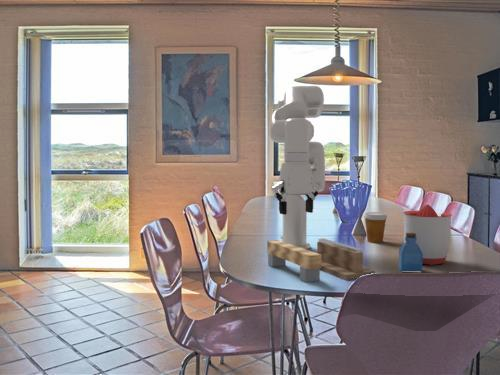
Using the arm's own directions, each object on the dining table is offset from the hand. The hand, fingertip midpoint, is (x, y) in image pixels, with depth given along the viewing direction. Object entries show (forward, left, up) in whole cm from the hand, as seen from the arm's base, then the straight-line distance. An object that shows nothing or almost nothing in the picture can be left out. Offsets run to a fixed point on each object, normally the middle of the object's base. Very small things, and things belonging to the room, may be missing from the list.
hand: (296, 213), depth 146 cm
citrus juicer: (+7, +49, -19) cm, 53 cm away
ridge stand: (+3, +14, -19) cm, 24 cm away
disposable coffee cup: (-29, +57, -19) cm, 67 cm away
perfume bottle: (+14, +34, -19) cm, 42 cm away
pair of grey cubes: (-1, -1, -19) cm, 19 cm away
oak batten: (-1, -1, -15) cm, 15 cm away
